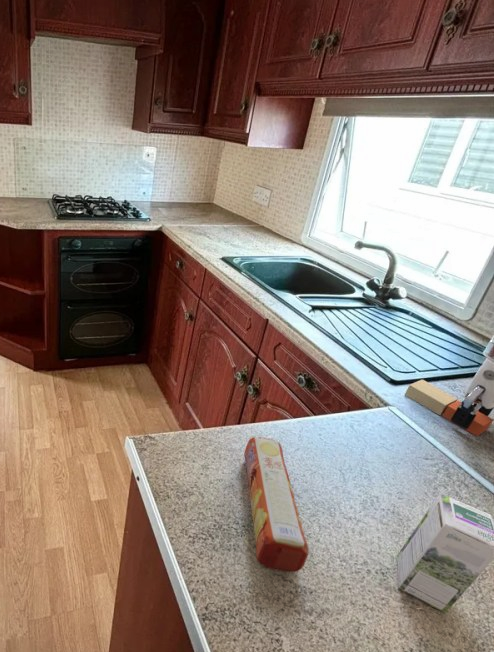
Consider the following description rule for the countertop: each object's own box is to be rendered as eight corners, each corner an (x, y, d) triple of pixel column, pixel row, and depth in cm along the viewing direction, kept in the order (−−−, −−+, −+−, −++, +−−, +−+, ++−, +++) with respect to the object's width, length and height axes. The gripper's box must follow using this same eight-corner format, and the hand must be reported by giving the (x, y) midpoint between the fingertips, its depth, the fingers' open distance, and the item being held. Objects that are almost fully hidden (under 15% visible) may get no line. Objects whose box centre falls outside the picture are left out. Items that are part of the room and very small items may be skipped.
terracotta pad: (487, 429, 90) (493, 419, 89) (476, 436, 88) (483, 426, 86) (452, 410, 95) (458, 400, 94) (441, 415, 93) (447, 405, 92)
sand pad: (452, 408, 96) (458, 398, 94) (439, 415, 93) (445, 405, 92) (417, 388, 102) (422, 379, 101) (404, 394, 99) (409, 384, 98)
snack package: (240, 456, 76) (249, 428, 73) (276, 463, 75) (286, 436, 72) (252, 568, 57) (264, 538, 54) (300, 580, 56) (315, 550, 53)
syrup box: (440, 577, 58) (492, 511, 52) (446, 616, 54) (503, 549, 47) (395, 555, 61) (439, 489, 54) (397, 590, 56) (445, 523, 50)
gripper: (514, 374, 76) (470, 441, 84) (548, 356, 84) (505, 418, 92) (468, 353, 82) (431, 418, 90) (505, 338, 90) (468, 398, 98)
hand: (469, 418), depth 91 cm, fingers open, 9 cm apart
